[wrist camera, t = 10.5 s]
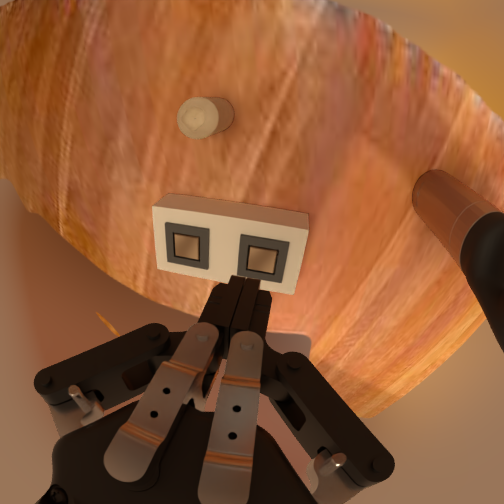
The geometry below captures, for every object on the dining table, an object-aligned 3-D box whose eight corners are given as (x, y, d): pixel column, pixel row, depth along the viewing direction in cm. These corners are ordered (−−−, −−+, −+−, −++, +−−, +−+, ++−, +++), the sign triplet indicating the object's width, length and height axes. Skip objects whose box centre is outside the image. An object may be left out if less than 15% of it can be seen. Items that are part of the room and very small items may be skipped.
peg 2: (280, 231, 46) (276, 251, 40) (276, 251, 48) (273, 273, 42) (256, 227, 46) (249, 247, 41) (254, 247, 48) (247, 269, 43)
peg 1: (210, 220, 47) (198, 238, 41) (210, 240, 49) (198, 260, 43) (189, 216, 47) (174, 234, 42) (189, 236, 49) (175, 255, 44)
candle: (232, 133, 39) (213, 142, 30) (198, 130, 39) (171, 139, 31) (236, 98, 36) (217, 97, 27) (201, 96, 36) (173, 96, 28)
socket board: (308, 213, 43) (309, 232, 38) (295, 274, 50) (293, 297, 44) (168, 193, 45) (150, 207, 40) (170, 251, 52) (156, 270, 46)
